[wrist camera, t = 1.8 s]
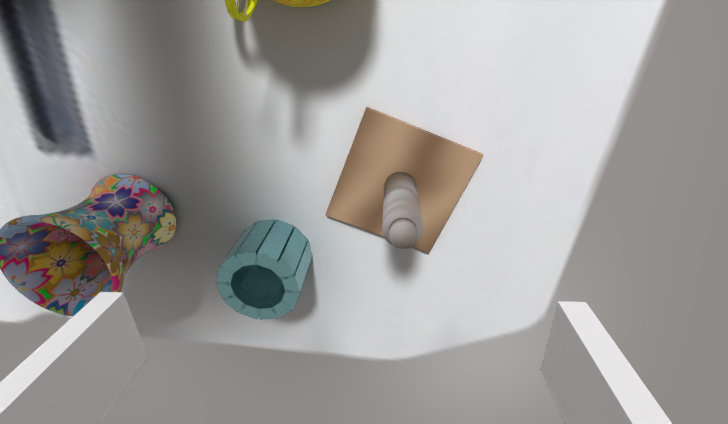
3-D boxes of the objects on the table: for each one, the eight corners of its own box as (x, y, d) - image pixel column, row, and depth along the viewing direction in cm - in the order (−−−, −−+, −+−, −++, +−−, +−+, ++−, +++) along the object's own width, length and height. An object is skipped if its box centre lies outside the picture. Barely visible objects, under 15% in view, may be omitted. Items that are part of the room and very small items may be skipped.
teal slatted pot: (234, 266, 40) (210, 303, 35) (249, 209, 37) (225, 241, 32) (299, 289, 41) (286, 328, 36) (320, 235, 38) (308, 270, 32)
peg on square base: (326, 212, 37) (307, 269, 28) (366, 106, 32) (357, 136, 23) (428, 249, 38) (439, 315, 29) (481, 153, 33) (513, 198, 24)
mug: (83, 161, 36) (-27, 210, 26) (178, 171, 36) (101, 224, 26) (111, 263, 41) (27, 334, 32) (193, 273, 41) (134, 347, 32)
